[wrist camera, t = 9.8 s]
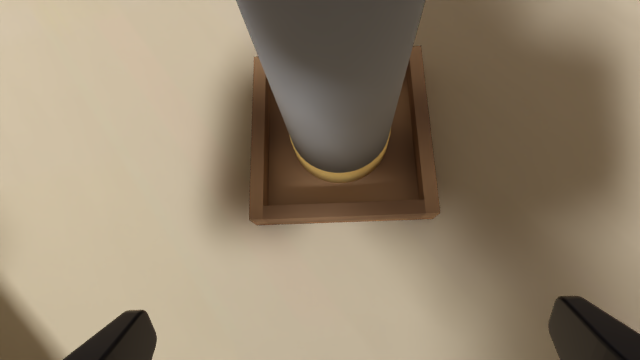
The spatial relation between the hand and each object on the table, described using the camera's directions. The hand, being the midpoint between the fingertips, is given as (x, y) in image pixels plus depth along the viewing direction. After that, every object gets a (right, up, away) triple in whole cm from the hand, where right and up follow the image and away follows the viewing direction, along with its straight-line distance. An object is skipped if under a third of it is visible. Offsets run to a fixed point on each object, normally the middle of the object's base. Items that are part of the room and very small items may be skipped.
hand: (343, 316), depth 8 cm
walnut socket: (0, +5, +10) cm, 11 cm away
